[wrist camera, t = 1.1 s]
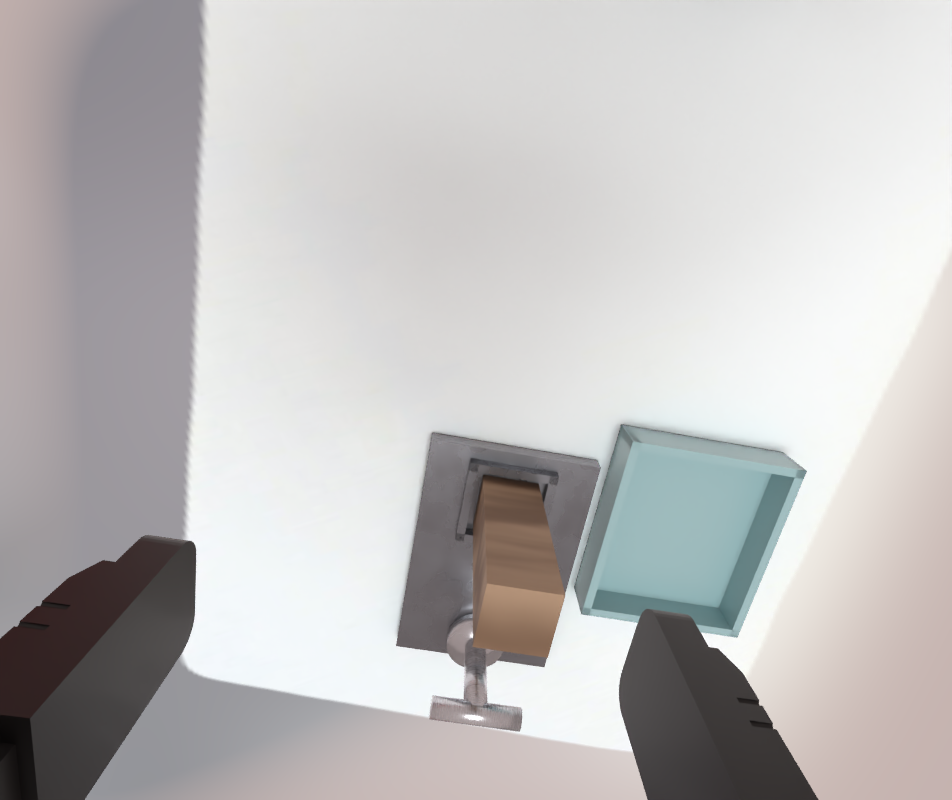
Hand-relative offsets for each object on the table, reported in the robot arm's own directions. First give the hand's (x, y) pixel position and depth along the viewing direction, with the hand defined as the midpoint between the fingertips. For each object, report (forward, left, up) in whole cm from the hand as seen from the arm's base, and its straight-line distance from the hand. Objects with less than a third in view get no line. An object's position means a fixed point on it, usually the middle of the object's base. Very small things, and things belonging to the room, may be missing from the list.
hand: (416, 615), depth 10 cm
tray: (+12, +19, -28) cm, 36 cm away
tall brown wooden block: (+12, +6, -27) cm, 30 cm away
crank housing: (+17, +6, -28) cm, 33 cm away
